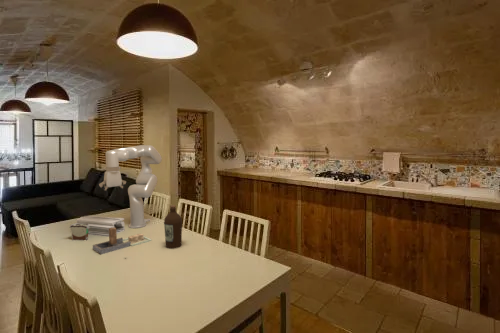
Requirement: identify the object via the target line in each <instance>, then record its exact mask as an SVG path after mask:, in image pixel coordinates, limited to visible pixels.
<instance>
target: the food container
mask: <svg viewBox="0 0 500 333" xmlns="http://www.w3.org/2000/svg"><path fill="white" fill-rule="evenodd" d="M69 228H70V233H71V238H72V241H84V240H86V241H88V239H89V235H88V228H89V224H88V223H77V222H76V224H75V223H72V224H70V225H69Z"/></svg>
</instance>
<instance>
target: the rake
mask: <svg viewBox="0 0 500 333" xmlns="http://www.w3.org/2000/svg"><path fill="white" fill-rule="evenodd" d="M117 235H118V234H116V228H109V237H108V239H109V240H108V241H109V242H108V247H110V246H114V245H118V244H117V239H118V238H117Z"/></svg>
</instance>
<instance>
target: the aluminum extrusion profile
mask: <svg viewBox="0 0 500 333" xmlns="http://www.w3.org/2000/svg"><path fill="white" fill-rule="evenodd" d="M124 220H125V218H123V217H111V216H110V217H109V216H101V215H100V216H99V215H84V216H80V218H77V219H75V221H76V223H88V224H89V228H88V236H98V237H100V236H101V237H108V238H109V228H116V234H117V235H118V234H120V233H122V232H124V231H125V221H124ZM76 223H74V224H76Z"/></svg>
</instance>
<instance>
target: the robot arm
mask: <svg viewBox="0 0 500 333" xmlns="http://www.w3.org/2000/svg"><path fill="white" fill-rule="evenodd" d="M137 158H140V164H141V169H140V172H139V173H138V175H137V177H136V178H135V179H136V180H135V183H136V184H131V185H129V187H128V188H127V193H128V198H129V216H130V217H129V218H130V223H128V227H129V228H131V229H140V228H143V227H146V226H147V222H150V221H151V218H145V210H144V208H145V206H144V201H143V200H144V199H143V198H150V197H151V196H152V194H153V192H154V190H155V188H156V186H157V184H158V177H157V175H156V174H154V173H153V168H152V166H151V165H160V164H161V163H162V160H163V158H162V155H161V154H160V152H159V151H158V150H157V148H155V147H154V145H151V144H149V145H148V144H139V145H135V146H129V147H121V148H115V149H110V150H107V151H105V169H106V170H105V171H104V176H103V181H102V182H100V183H99V184H98V185H99V187H100V188H101V189H102V191H103V195H104V196H105V197H108V196H109V195H108V193H109V192H108V189H109V188H114V187H119V188H118V192H119V195H123V193H124V188H125V186H126V183H127V181H126V180H123V179H122V175H121V171H120V170H121V169H122V168H121V167H120V166H119V165H120V164H119V162H125V161H129V160H130V159H132V160H133V159H137Z"/></svg>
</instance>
